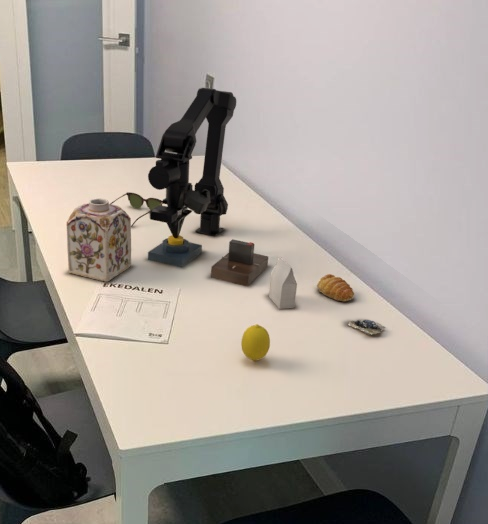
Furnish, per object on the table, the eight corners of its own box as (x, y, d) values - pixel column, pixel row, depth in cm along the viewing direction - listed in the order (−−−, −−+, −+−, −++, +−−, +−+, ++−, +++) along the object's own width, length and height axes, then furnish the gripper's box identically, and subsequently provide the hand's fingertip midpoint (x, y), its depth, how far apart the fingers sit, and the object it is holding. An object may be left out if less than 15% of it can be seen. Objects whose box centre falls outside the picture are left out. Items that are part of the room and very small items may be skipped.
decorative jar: (132, 266, 171) (132, 198, 163) (108, 283, 162) (106, 212, 154) (92, 257, 176) (90, 190, 167) (66, 273, 166) (63, 203, 158)
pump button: (172, 241, 180) (172, 234, 179) (185, 244, 178) (185, 236, 177) (165, 245, 177) (165, 238, 176) (178, 248, 175) (179, 241, 174)
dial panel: (231, 259, 179) (232, 248, 177) (267, 266, 175) (269, 255, 174) (210, 277, 167) (210, 266, 166) (248, 286, 164) (249, 274, 162)
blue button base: (169, 245, 186) (169, 231, 184) (201, 252, 182) (202, 238, 180) (147, 259, 176) (147, 245, 174) (181, 267, 172) (182, 253, 170)
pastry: (360, 299, 160) (362, 285, 158) (339, 305, 156) (341, 291, 155) (334, 284, 167) (336, 270, 165) (313, 290, 163) (314, 275, 162)
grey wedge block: (279, 308, 153) (283, 268, 149) (268, 296, 159) (272, 257, 155) (294, 307, 154) (299, 267, 150) (282, 295, 160) (287, 256, 156)
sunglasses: (164, 215, 208) (163, 200, 205) (135, 232, 197) (134, 216, 195) (127, 205, 214) (126, 191, 212) (97, 221, 204) (96, 206, 201)
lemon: (238, 353, 135) (241, 318, 131) (265, 353, 135) (268, 318, 132) (242, 368, 130) (245, 331, 126) (270, 367, 130) (274, 331, 127)
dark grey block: (228, 260, 170) (229, 240, 168) (231, 257, 172) (232, 238, 169) (250, 264, 168) (251, 245, 166) (253, 262, 170) (254, 242, 167)
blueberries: (377, 339, 142) (379, 331, 141) (342, 328, 146) (343, 321, 145) (387, 327, 147) (389, 319, 146) (353, 317, 151) (354, 309, 150)
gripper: (189, 194, 159) (187, 255, 166) (221, 176, 174) (218, 232, 181) (148, 186, 163) (148, 246, 170) (183, 169, 178) (181, 225, 185)
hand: (175, 237), depth 177 cm, fingers closed, pressing on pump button
